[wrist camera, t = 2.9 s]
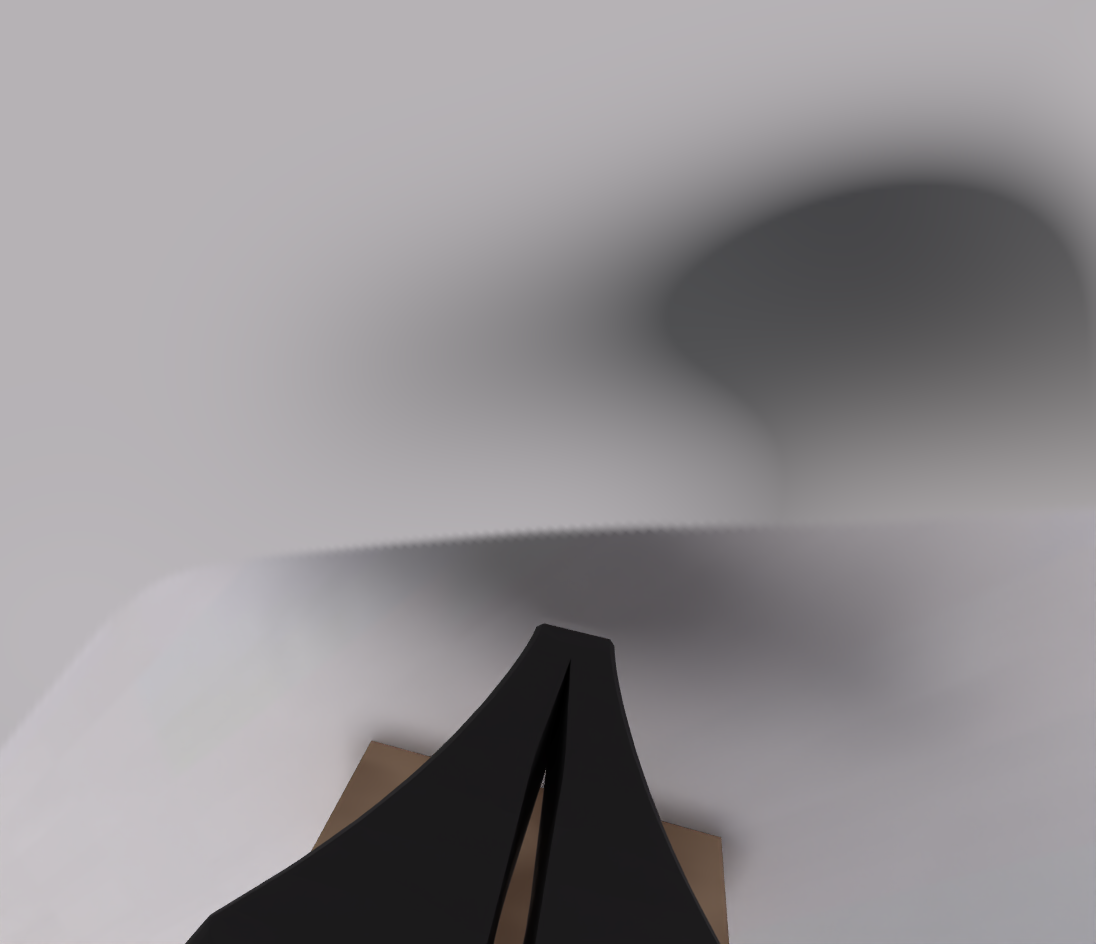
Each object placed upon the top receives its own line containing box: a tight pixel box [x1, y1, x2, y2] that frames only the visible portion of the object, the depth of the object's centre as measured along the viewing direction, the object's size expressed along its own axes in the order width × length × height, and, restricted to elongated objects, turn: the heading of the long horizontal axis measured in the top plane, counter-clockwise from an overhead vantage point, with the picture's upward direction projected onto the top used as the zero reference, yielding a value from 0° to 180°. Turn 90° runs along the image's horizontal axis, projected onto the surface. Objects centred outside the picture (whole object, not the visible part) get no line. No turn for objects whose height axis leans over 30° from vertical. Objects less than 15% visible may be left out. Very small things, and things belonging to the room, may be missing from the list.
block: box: [312, 741, 729, 944], centre depth 15 cm, size 9×6×4 cm, turn 81°
